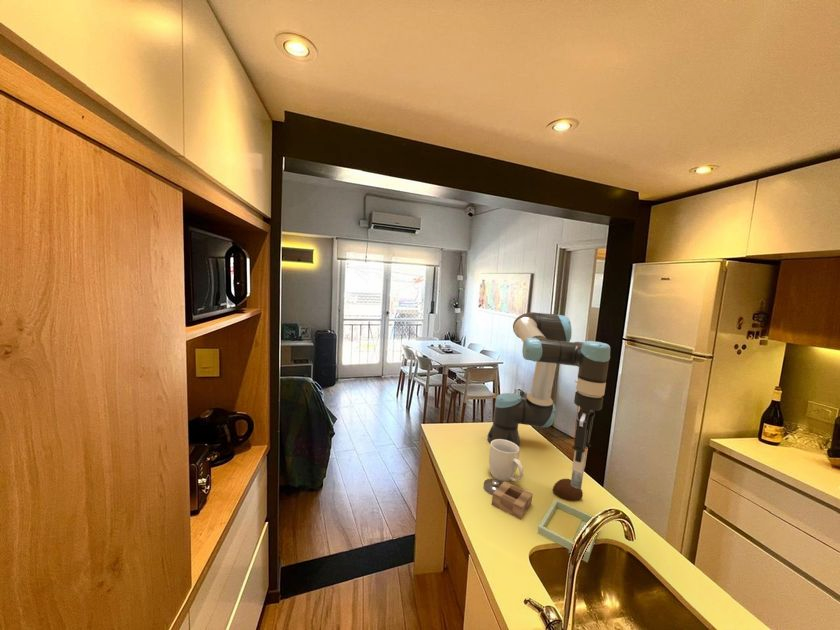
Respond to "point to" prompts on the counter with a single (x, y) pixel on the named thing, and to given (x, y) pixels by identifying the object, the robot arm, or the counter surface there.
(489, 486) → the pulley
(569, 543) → the light teal rectangular frame
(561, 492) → the potato
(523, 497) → the block
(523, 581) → the counter surface
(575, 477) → the pin
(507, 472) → the mug
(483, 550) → the counter surface
